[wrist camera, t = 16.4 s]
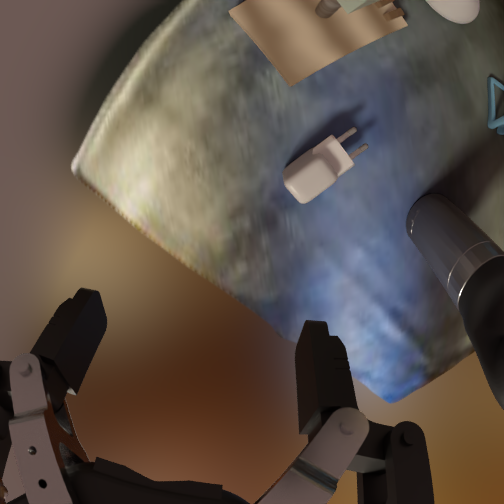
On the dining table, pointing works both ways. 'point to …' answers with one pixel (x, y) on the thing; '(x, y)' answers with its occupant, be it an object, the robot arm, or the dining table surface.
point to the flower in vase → (456, 9)
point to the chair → (502, 122)
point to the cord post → (312, 31)
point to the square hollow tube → (355, 4)
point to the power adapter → (319, 167)
